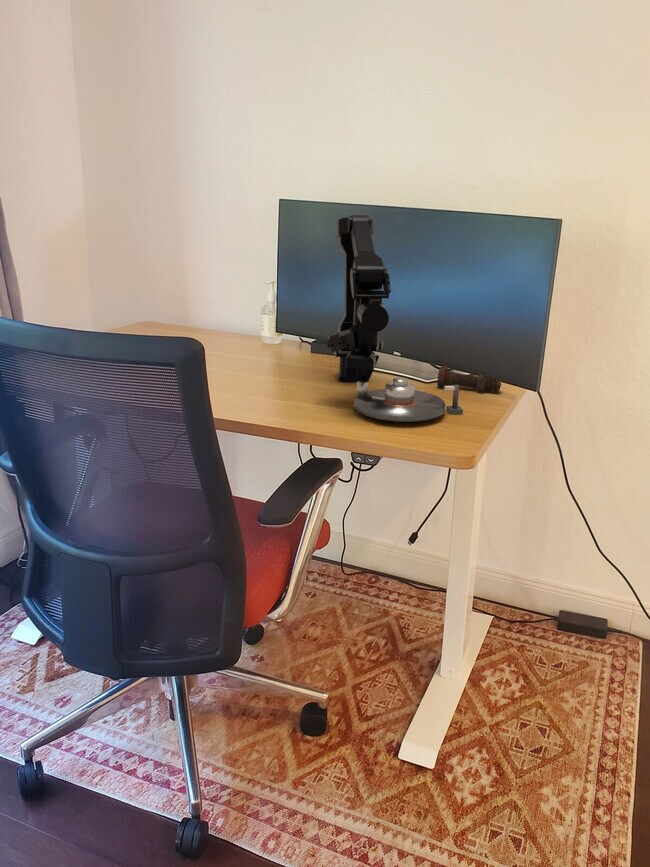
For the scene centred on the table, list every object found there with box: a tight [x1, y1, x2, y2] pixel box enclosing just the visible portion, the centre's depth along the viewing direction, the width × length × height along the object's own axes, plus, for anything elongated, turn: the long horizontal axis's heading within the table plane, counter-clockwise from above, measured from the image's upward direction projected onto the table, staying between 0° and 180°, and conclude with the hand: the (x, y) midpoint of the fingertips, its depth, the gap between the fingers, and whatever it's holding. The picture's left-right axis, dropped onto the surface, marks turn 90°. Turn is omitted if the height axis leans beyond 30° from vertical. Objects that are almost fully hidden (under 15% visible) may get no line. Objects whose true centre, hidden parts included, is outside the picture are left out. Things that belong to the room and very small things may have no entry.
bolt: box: [436, 365, 502, 394], centre depth 184 cm, size 6×5×15 cm
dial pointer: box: [443, 385, 464, 415], centre depth 167 cm, size 3×4×6 cm
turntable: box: [353, 381, 446, 423], centre depth 166 cm, size 20×20×4 cm
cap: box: [384, 376, 416, 406], centre depth 165 cm, size 6×6×5 cm
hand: (363, 387), depth 171 cm, fingers closed
